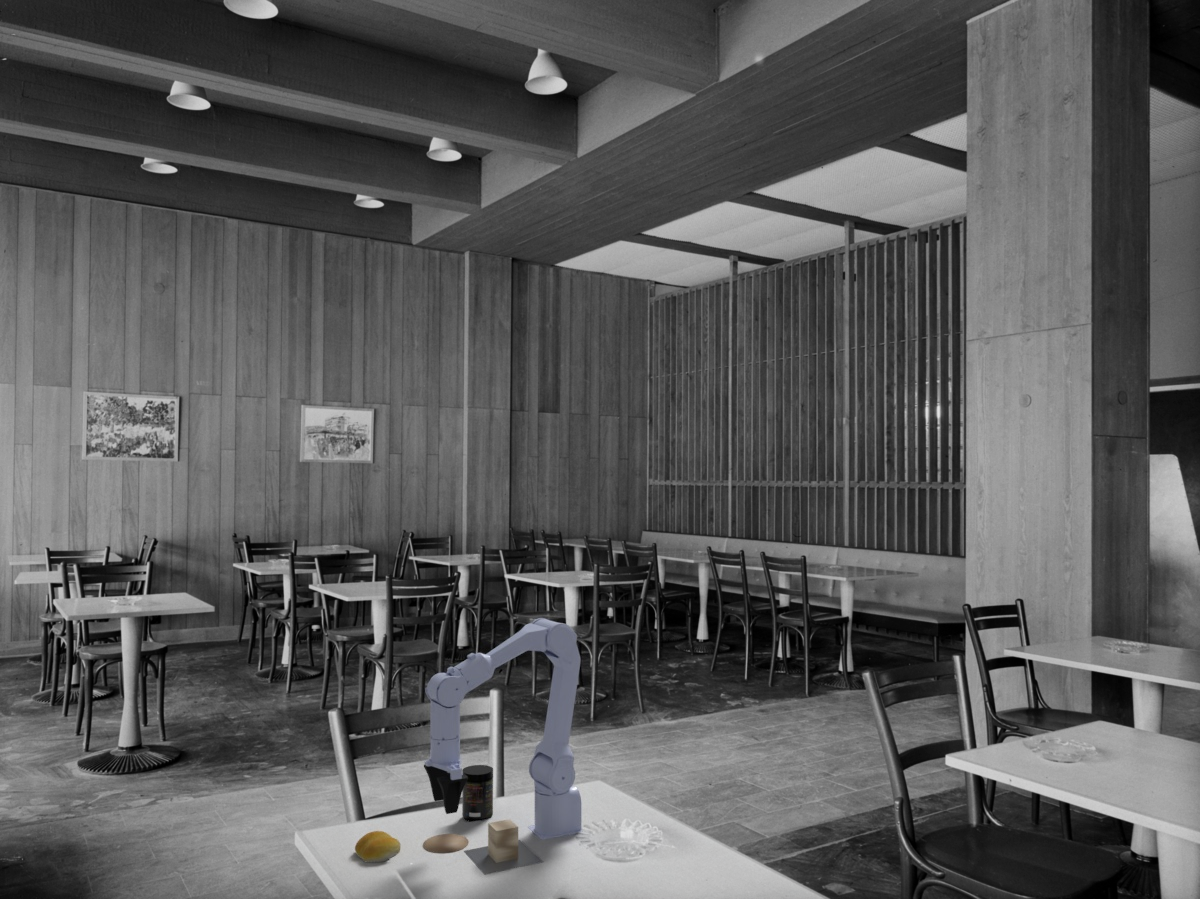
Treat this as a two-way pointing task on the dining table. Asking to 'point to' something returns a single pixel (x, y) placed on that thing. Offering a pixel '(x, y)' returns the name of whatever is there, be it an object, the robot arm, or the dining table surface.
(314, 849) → the dining table surface
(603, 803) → the dining table surface
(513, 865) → the tile
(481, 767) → the supplement container
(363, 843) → the bread roll
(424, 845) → the cork coaster
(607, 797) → the dining table surface
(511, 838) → the maple block
